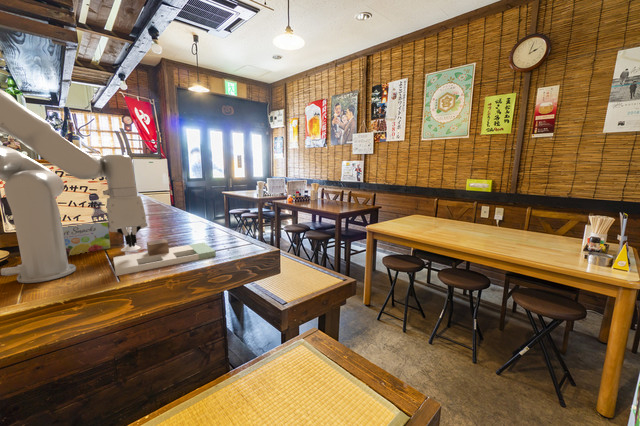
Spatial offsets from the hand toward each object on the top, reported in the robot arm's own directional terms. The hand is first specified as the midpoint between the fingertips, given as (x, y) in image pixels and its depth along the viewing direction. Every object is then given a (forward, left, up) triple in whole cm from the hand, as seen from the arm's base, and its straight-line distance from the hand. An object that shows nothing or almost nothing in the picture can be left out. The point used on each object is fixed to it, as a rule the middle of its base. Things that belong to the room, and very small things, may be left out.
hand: (131, 245), depth 91 cm
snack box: (-16, +25, -6) cm, 31 cm away
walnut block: (+8, 0, -4) cm, 9 cm away
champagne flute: (+1, +19, -6) cm, 20 cm away
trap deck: (+10, -3, -6) cm, 12 cm away
